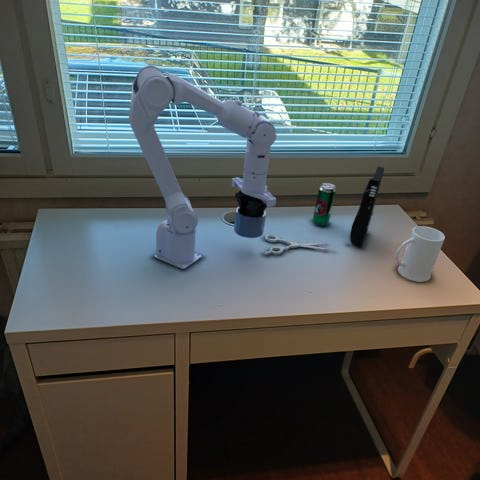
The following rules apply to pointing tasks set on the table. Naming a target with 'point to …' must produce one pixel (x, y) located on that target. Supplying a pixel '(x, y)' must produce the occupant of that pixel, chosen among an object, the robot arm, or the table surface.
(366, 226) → the black tapered piece
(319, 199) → the soda can
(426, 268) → the mug
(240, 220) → the cup
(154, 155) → the robot arm
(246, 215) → the dark brown square post
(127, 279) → the table surface
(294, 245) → the scissors
